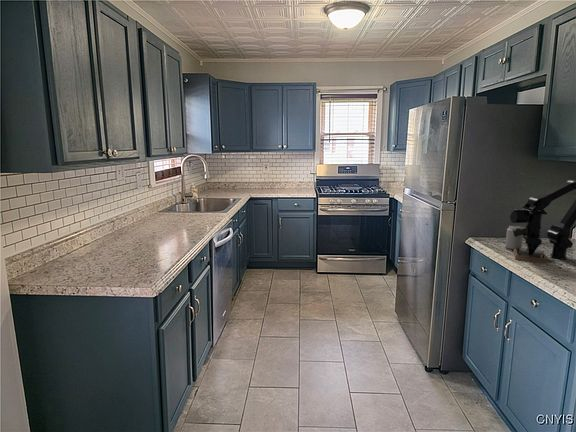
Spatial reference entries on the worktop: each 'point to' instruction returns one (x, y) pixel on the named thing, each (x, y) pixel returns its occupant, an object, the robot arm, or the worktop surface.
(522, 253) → the dark gray box
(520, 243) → the can
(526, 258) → the walnut box
